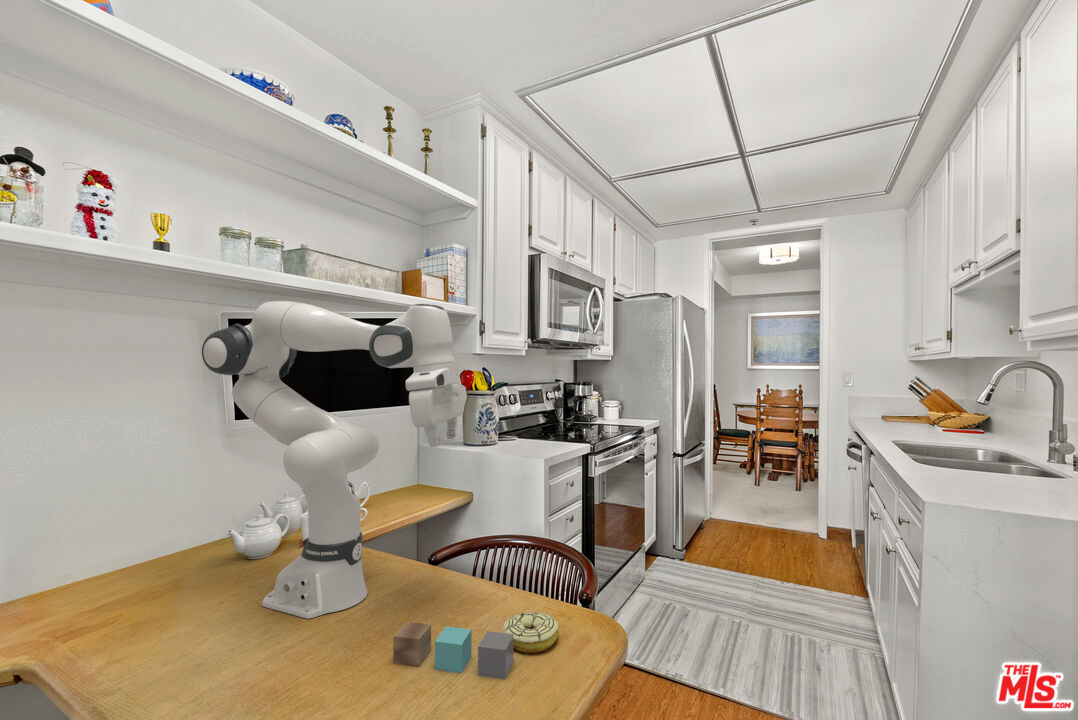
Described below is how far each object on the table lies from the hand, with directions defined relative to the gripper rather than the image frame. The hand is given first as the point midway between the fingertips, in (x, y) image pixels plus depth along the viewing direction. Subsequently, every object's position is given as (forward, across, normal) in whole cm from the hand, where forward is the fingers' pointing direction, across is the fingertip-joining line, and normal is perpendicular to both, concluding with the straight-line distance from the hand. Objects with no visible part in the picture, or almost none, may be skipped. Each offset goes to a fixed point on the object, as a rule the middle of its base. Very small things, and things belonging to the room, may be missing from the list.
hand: (443, 442), depth 103 cm
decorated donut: (+40, +6, +16) cm, 43 cm away
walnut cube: (+37, +15, -4) cm, 40 cm away
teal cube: (+38, +16, +4) cm, 41 cm away
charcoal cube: (+38, +16, +11) cm, 43 cm away
